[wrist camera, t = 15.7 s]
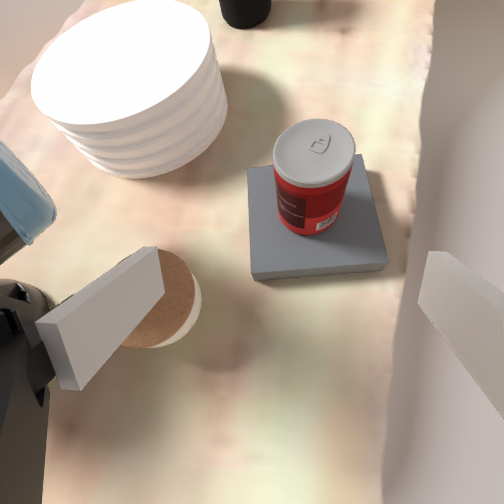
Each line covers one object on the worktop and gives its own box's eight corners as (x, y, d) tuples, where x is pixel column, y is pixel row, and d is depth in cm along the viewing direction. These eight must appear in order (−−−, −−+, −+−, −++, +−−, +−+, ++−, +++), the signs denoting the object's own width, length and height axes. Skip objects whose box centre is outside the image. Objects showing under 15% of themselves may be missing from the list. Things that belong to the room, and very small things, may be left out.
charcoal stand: (254, 280, 36) (251, 273, 34) (249, 181, 43) (246, 168, 40) (381, 270, 35) (388, 261, 32) (357, 168, 41) (361, 153, 38)
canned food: (344, 190, 36) (363, 122, 26) (331, 244, 34) (346, 191, 24) (287, 180, 38) (285, 113, 28) (270, 230, 36) (261, 175, 26)
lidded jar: (162, 259, 40) (126, 228, 31) (226, 289, 37) (206, 265, 28) (118, 328, 37) (64, 315, 28) (184, 368, 33) (146, 367, 25)
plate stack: (87, 88, 58) (42, 26, 48) (216, 53, 57) (199, -19, 46) (78, 196, 47) (16, 146, 36) (239, 155, 45) (223, 91, 35)
